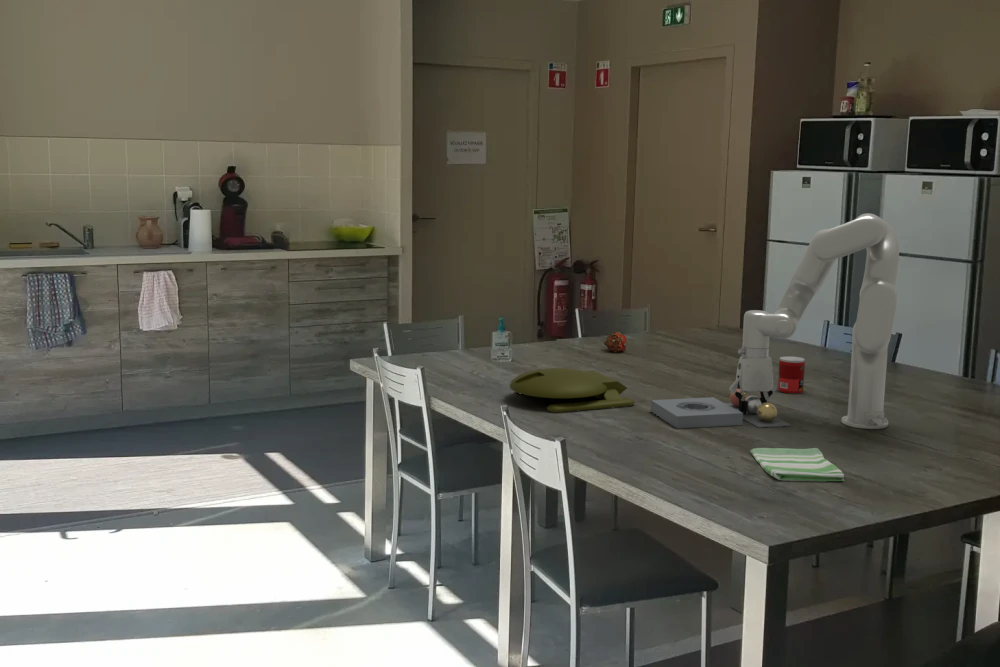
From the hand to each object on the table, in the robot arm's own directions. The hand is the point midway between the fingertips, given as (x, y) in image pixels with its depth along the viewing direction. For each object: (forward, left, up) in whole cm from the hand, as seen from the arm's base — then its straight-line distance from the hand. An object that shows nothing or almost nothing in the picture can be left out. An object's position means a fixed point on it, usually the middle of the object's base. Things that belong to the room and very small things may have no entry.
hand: (752, 412), depth 301 cm
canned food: (+27, -27, -1) cm, 38 cm away
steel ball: (0, 0, +2) cm, 2 cm away
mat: (0, 0, -1) cm, 1 cm away
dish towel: (-50, +13, -2) cm, 52 cm away
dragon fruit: (+106, +6, -1) cm, 106 cm away
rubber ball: (+9, 0, +2) cm, 9 cm away
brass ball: (-9, 0, +2) cm, 9 cm away
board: (0, +18, -1) cm, 18 cm away
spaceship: (+30, +49, -2) cm, 57 cm away
